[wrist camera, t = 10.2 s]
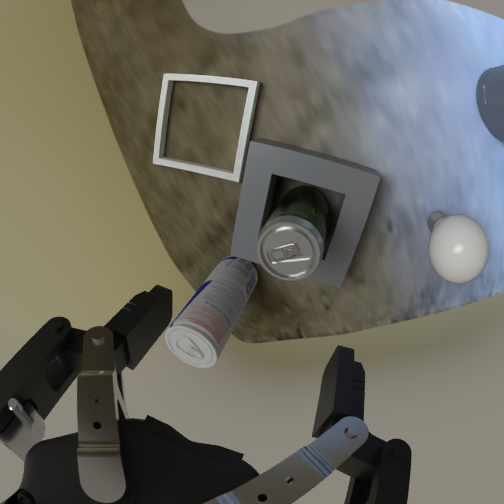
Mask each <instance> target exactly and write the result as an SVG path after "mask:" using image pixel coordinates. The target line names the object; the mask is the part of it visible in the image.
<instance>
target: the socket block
mask: <svg viewBox="0 0 504 504" xmlns="http://www.w3.org/2000/svg"><path fill="white" fill-rule="evenodd" d="M278 175H279V176H283V177H287V178H290V179H294V180H298V181H301V182H305V183H308V184H312V185H316V186H319V187H322V188H326V189H329V190H332V191H336V192H339V193H342V197H341V200H340V204H339V207H338V210H337V214H336V217H335V220H334V223H333V226H332V229H331V233H330V236H329V239H328V242H327V245H325V246H324V252H323V257H322V260H321V261H320V263H319V265H318V266H317V267H316V269H315V270H314V271H313V272H312V273H311V274H310V275H309V276H308V277H305V278H307V279H310V280H313V281H317V282H320V283H323V284H327V285H330V286H333V287H337V288H341V286H342V283H343V281H344V278H345V276H346V273H347V271H348V268H349V266H350V263H351V261H352V258H353V256H354V253H355V250H356V248H357V245H358V242H359V240H360V237H361V234H362V231H363V229H364V226H365V223H366V220H367V217H368V214H369V211H370V208H371V205H372V202H373V199H374V196H375V193H376V190H377V187H378V184H379V180H380V176H379V174H378V173H377V172H376V170H374V169H371V168H368V167H365V166H362V165H359V164H356V163H353V162H349V161H346V160H343V159H340V158H336V157H333V156H329V155H326V154H322V153H319V152H315V151H312V150H308V149H304V148H300V147H296V146H292V145H288V144H284V143H280V142H276V141H271V140H267V139H262V138H259V139H255V140H251V141H250V144H249V149H248V155H247V160H246V166H245V171H244V177H243V182H242V188H241V193H240V199H239V205H238V211H237V216H236V222H235V228H234V234H233V240H232V246H231V252H230V255H232V256H235V257H238V258H242V259H245V260H248V261H251V262H255V263H258V264H261V263H260V261H259V258H258V254H257V244H258V236H259V234H260V232H261V230H262V228H263V226H264V225H265V223H266V222H267V220H268V216H269V212H270V207H271V203H272V198H273V194H274V189H275V185H276V180H277V176H278ZM261 265H262V264H261Z"/></svg>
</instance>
